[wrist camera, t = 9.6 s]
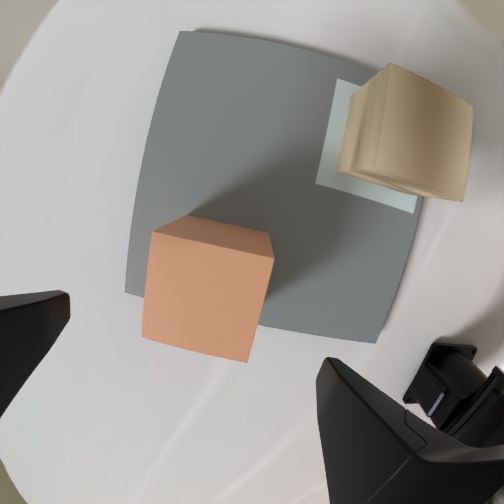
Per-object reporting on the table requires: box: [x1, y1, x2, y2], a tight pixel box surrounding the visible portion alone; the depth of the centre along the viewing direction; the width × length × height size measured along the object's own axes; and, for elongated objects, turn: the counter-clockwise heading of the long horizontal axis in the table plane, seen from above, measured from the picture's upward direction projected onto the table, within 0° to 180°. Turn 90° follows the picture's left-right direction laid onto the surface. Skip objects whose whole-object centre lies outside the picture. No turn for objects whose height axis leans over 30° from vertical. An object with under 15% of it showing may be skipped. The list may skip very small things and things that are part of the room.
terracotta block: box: [142, 215, 275, 363], centre depth 15 cm, size 5×5×6 cm
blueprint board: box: [125, 31, 423, 343], centre depth 17 cm, size 18×18×1 cm
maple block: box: [336, 63, 473, 202], centre depth 13 cm, size 5×5×6 cm
